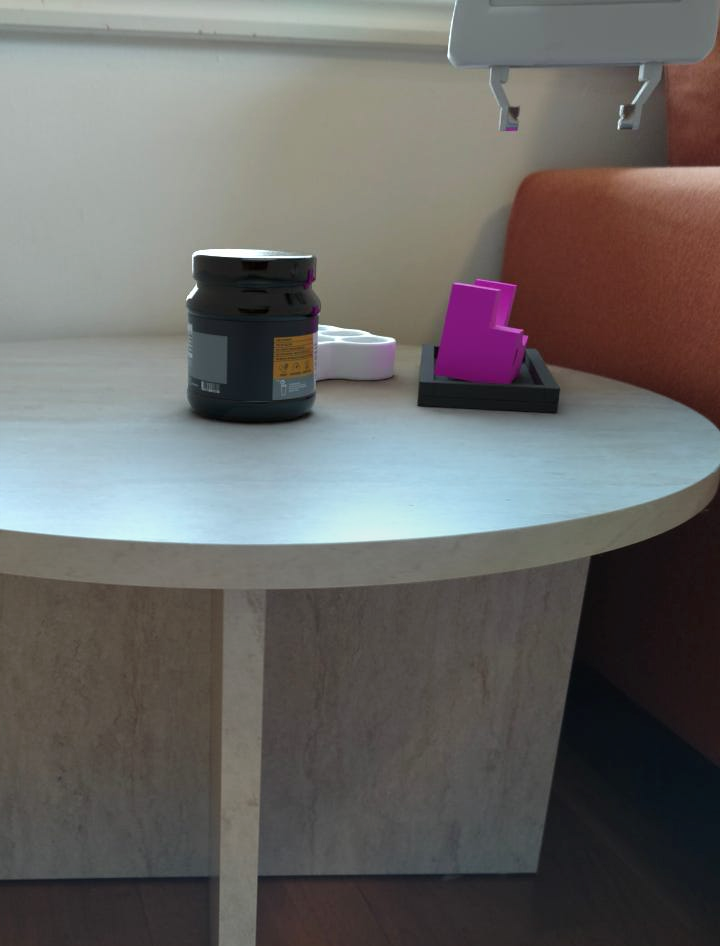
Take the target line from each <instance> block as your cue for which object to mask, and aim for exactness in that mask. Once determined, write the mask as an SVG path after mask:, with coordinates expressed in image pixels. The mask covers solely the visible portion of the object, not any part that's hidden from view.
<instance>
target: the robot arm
mask: <svg viewBox="0 0 720 946" xmlns="http://www.w3.org/2000/svg"><path fill="white" fill-rule="evenodd" d="M719 19H720V0H455V3H454V8H453V13H452V19H451V23H450V24H451V25H450V32H449V39H448V49H447V59H448V61H449V62H450V64H451V65H452V66H453V67H454V69H456V70H489V71H490V72H489V83H488V85H489V87H490V90H491V92H492V94H493V96H494V99H495V102H496V103H497V105H498V107H499V108H500V111H499V121H498V123H499V124H498V132H517V131H518V130H519V124H520V123H519V122H520V121H519V119H518V118H519V116H520V113H521V106H520V105H511V104H510V101H509V99H508V97H507V94H506V92H505V90H504V87H503V85H506V84H507V83H508V81H509V75H510V69H542V68H543V69H544V68H545V69H547V68H548V69H549V68H588V67H589V68H591V67H594V68H596V67H597V68H598V67H635V66H636V67H637V66H639V71H638V82H644V84H643V85H642V86H641V88H640V89H639V91H638V93H637V94H636V96H635V97H634V99H633V100H632V102H631V103H628V104H621V105H619V111H618V117H619V119H618V121H617V124H616V125H617V126H616V129H617V131H637V130H639V128H640V124H641V118H642V112H643V111H642V110H643V105H644V104H646V102H647V101H648V99H649V97H650V96H651V94H653V92H654V90H655V89H656V87H657V86H658V84H659V83H660V81H661V80H662V73H663V68H664V66H682V65H683V66H684V65H685V66H686V65H689V66H690V65H691V66H692V65H696V64H698V63H701V62H703V61H704V60H705V58H706V57H708V55H709V54H710V53H711V52H712V51H713V49H714V47H715V46H716V40H717V35H718V28H719Z"/></svg>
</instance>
